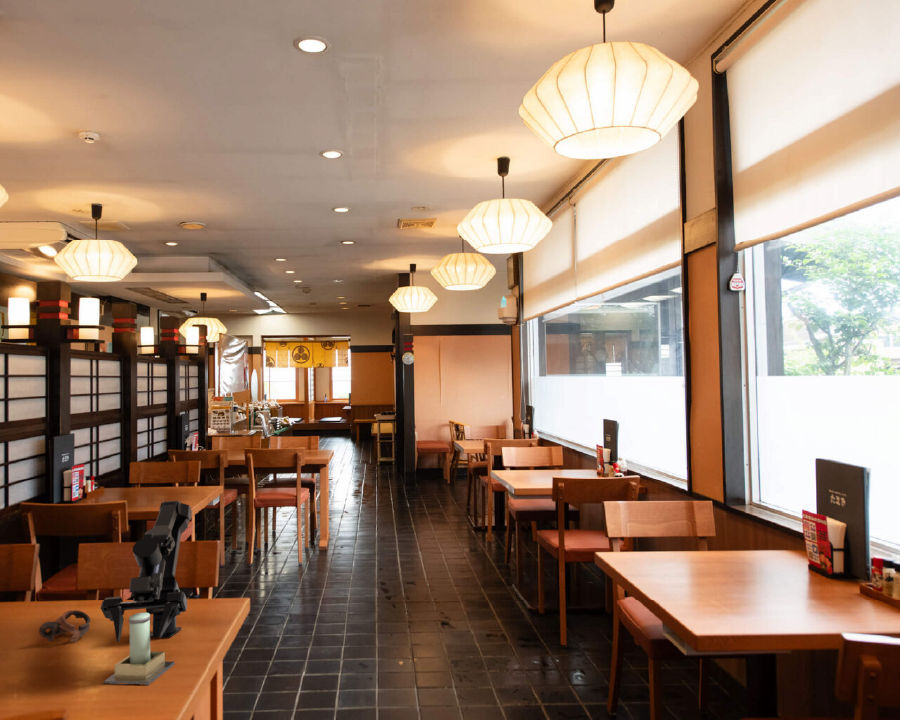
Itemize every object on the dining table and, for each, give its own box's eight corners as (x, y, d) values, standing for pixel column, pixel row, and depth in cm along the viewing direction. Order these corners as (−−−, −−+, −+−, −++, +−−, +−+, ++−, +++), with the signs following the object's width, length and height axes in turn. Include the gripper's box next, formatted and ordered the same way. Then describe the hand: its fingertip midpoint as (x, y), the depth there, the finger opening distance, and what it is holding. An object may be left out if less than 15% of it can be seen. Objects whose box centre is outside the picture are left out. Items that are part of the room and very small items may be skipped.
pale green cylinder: (129, 669, 152) (128, 614, 153) (150, 664, 154) (149, 611, 155) (129, 677, 148) (128, 620, 149) (151, 672, 150) (150, 617, 151)
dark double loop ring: (74, 631, 181) (87, 606, 181) (84, 654, 175) (98, 628, 175) (29, 633, 172) (42, 607, 171) (37, 658, 166) (52, 631, 165)
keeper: (132, 663, 157) (132, 648, 157) (174, 664, 156) (174, 649, 156) (103, 683, 146) (103, 667, 146) (148, 685, 145) (148, 669, 145)
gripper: (103, 564, 154) (86, 627, 143) (184, 558, 158) (175, 619, 147) (113, 587, 162) (98, 648, 150) (191, 581, 165) (182, 640, 154)
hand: (138, 639), depth 150 cm, fingers open, 9 cm apart
